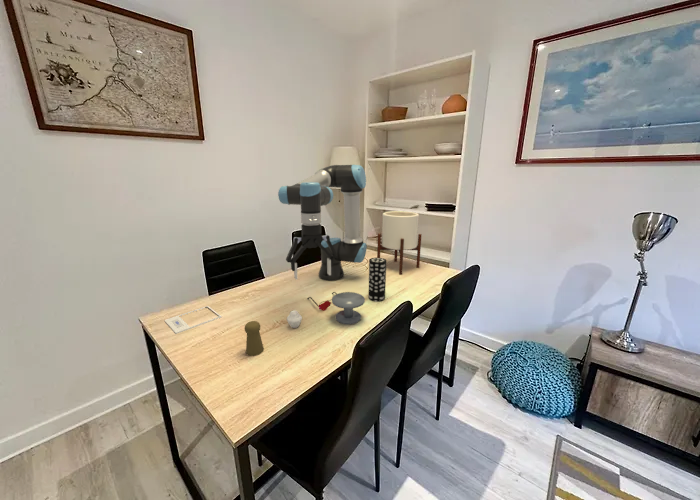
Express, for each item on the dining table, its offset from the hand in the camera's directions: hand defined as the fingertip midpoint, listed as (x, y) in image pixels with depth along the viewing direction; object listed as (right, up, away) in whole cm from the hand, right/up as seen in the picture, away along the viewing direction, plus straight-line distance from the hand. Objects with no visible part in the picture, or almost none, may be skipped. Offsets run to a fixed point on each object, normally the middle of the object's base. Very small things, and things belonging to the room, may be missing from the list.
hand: (312, 276), depth 114 cm
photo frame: (-53, -20, +9) cm, 57 cm away
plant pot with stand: (+47, -1, +74) cm, 88 cm away
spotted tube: (+28, -14, +29) cm, 43 cm away
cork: (-19, -25, -13) cm, 34 cm away
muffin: (-8, -21, +3) cm, 23 cm away
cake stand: (+14, -19, +10) cm, 26 cm away
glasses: (+3, -15, +25) cm, 29 cm away
